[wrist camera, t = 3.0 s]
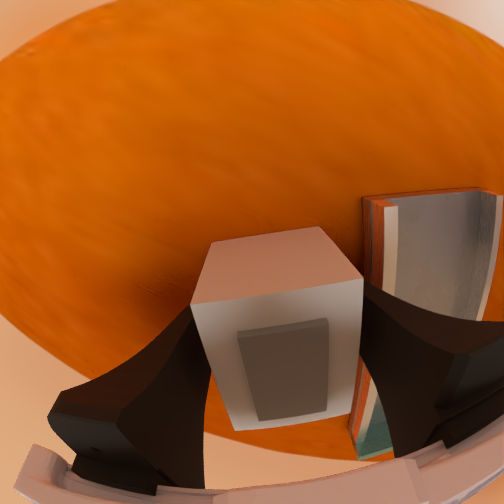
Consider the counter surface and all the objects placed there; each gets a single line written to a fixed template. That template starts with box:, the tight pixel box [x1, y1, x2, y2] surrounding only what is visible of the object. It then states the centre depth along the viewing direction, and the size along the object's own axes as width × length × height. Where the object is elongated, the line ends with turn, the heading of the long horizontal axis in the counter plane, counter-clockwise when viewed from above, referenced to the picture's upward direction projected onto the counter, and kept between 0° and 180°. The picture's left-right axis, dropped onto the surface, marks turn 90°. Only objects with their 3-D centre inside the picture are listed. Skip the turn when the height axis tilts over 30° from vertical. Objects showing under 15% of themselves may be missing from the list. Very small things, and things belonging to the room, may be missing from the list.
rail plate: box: [348, 187, 503, 461], centre depth 12 cm, size 17×8×3 cm, turn 9°
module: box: [190, 226, 364, 431], centre depth 10 cm, size 4×6×5 cm
